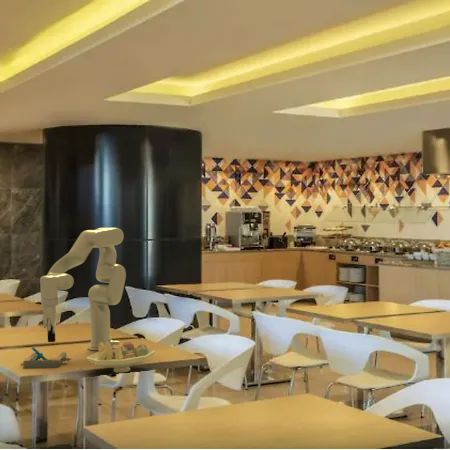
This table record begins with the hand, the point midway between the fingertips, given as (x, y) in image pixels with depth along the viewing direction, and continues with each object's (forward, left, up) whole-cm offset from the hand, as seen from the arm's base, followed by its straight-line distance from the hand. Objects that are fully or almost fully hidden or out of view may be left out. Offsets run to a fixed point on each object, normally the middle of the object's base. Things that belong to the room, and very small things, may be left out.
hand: (51, 341), depth 347 cm
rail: (+1, +11, -8) cm, 13 cm away
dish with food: (-34, +34, -8) cm, 49 cm away
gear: (+3, +14, -8) cm, 16 cm away
